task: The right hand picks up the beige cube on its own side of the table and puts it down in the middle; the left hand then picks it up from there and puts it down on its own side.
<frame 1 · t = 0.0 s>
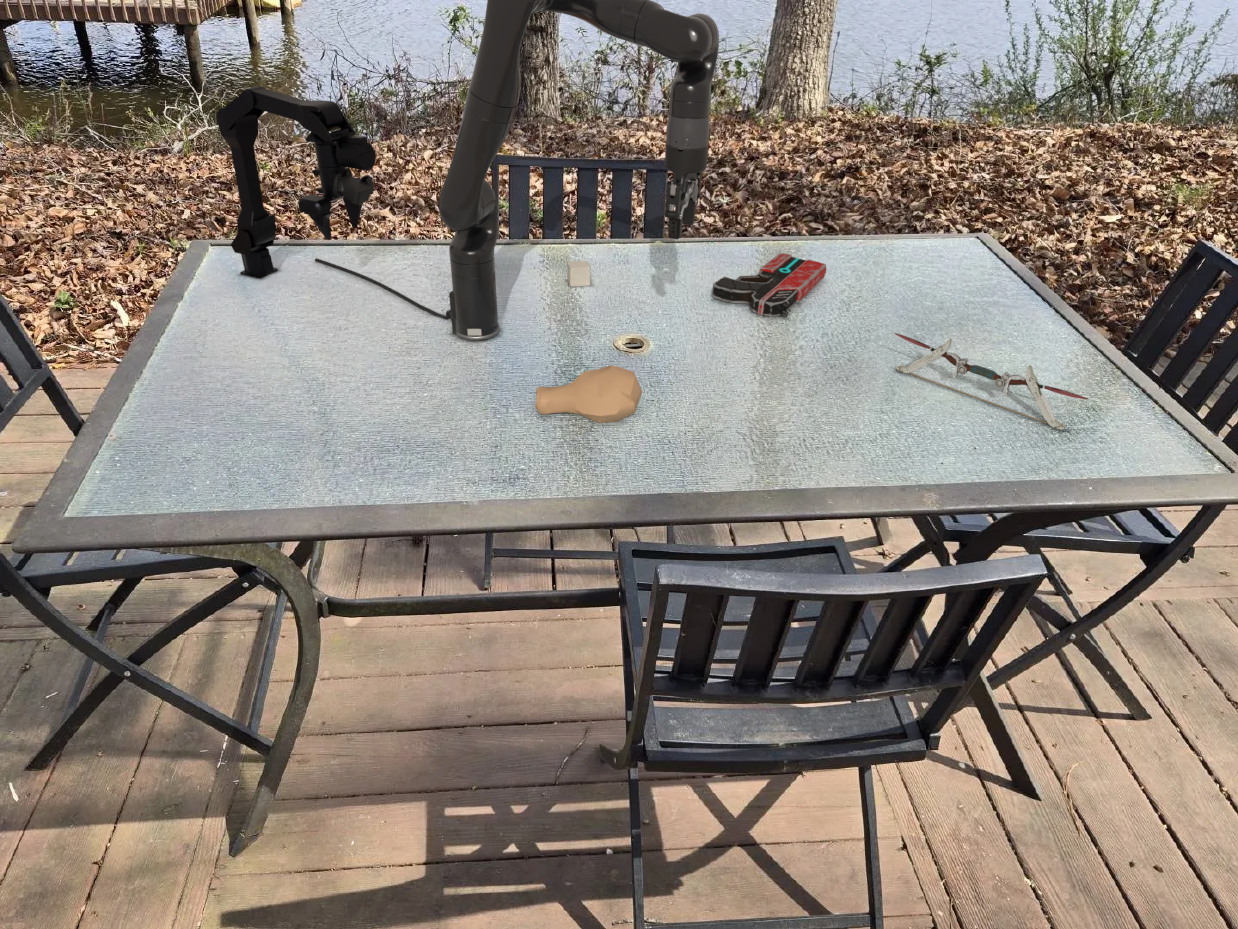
left hand: (342, 233, 200), 15 cm above the table, tool pointing down, fingers open, 9 cm apart
right hand: (681, 231, 164), 29 cm above the table, tool pointing down, fingers open, 8 cm apart
squash: (588, 414, 165), on the table
beige cube: (578, 282, 218), on the table
gun: (770, 291, 216), on the table
bow: (975, 398, 173), on the table
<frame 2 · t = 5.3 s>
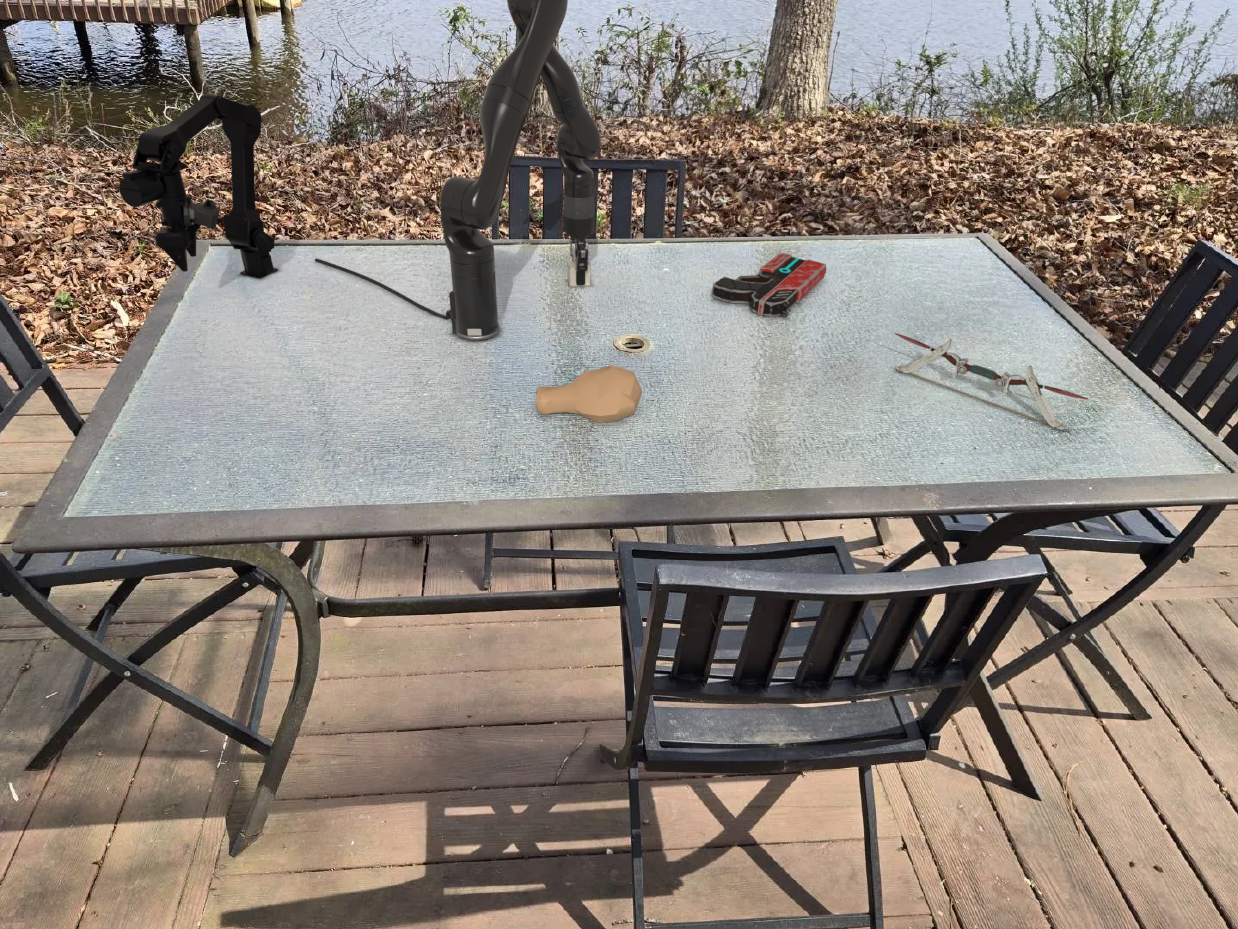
left hand: (189, 263, 197), 9 cm above the table, tool pointing down, fingers open, 9 cm apart
right hand: (578, 280, 218), 1 cm above the table, tool pointing down, fingers closed on beige cube, 4 cm apart
beige cube: (578, 282, 218), on the table, touching right hand
everything else where it was.
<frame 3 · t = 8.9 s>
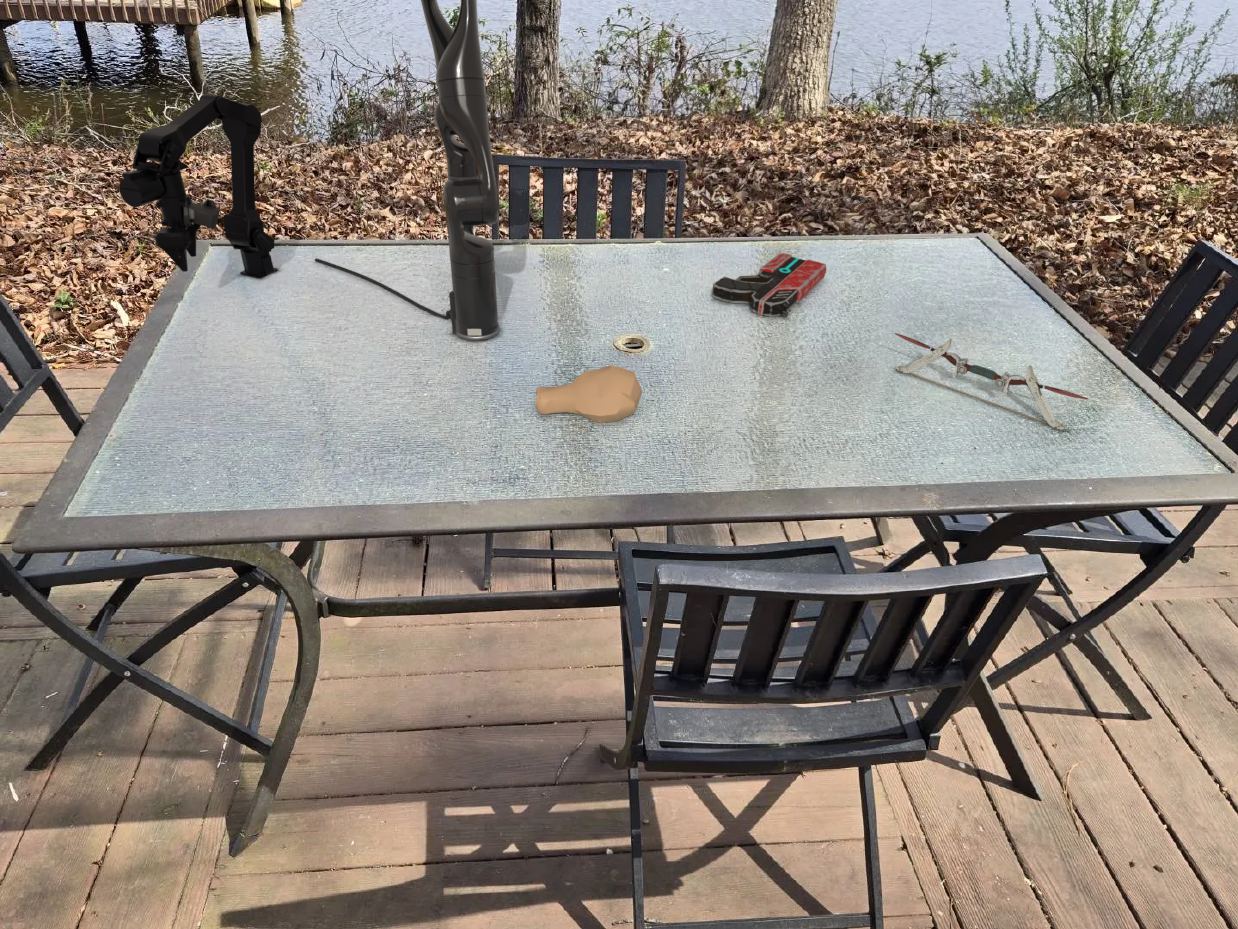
left hand: (189, 263, 197), 9 cm above the table, tool pointing down, fingers open, 9 cm apart
right hand: (470, 264, 210), 6 cm above the table, tool pointing down, fingers closed on beige cube, 4 cm apart
beige cube: (470, 266, 210), point 5 cm above the table, touching right hand
everything else where it was.
when the right hand's fingers open (1 cm above the table, at t = 12.9 s): beige cube stays where it is, on the table.
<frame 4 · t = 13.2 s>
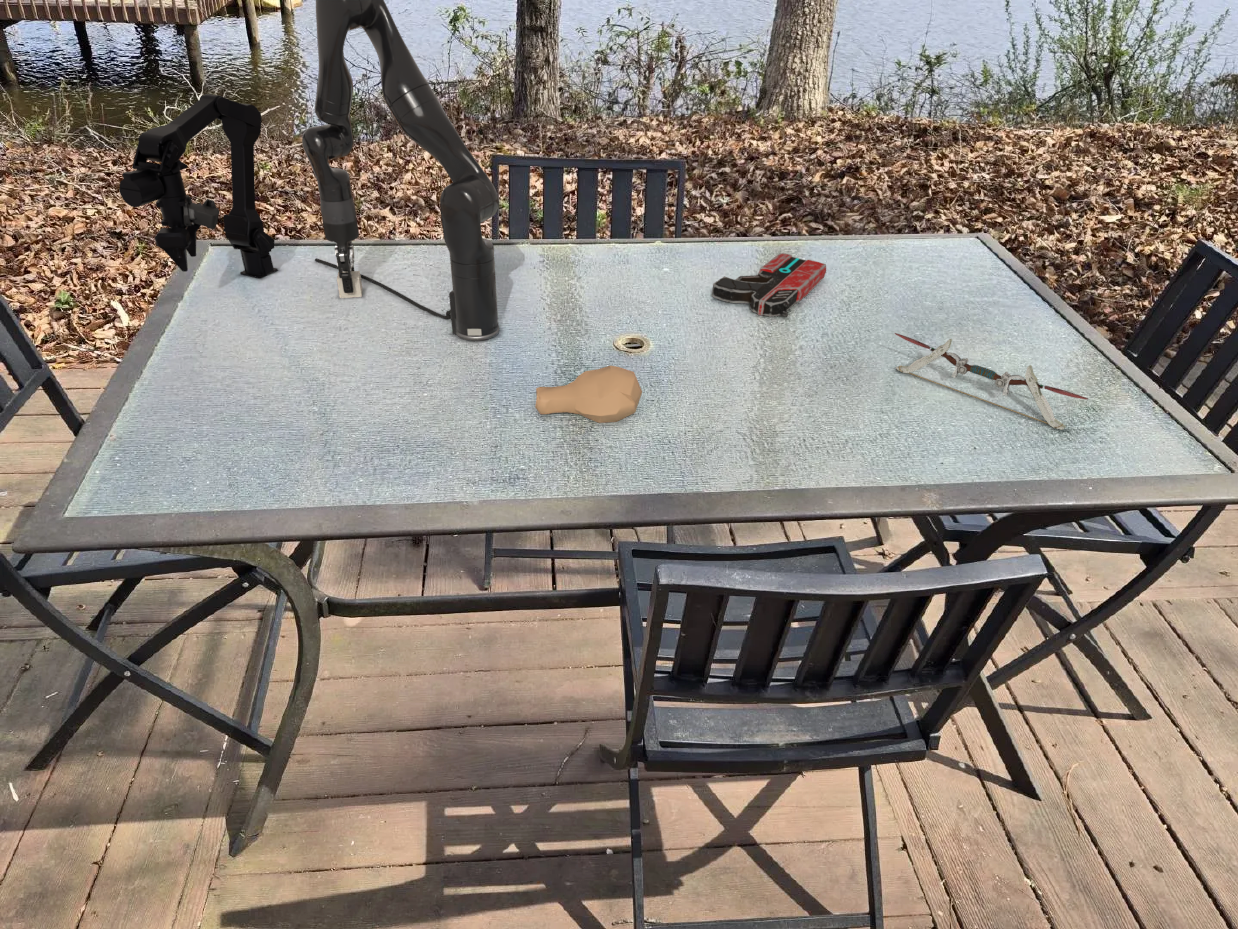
left hand: (189, 263, 197), 9 cm above the table, tool pointing down, fingers open, 9 cm apart
right hand: (349, 285, 208), 2 cm above the table, tool pointing down, fingers open, 7 cm apart
beige cube: (351, 293, 209), on the table
everything else where it was.
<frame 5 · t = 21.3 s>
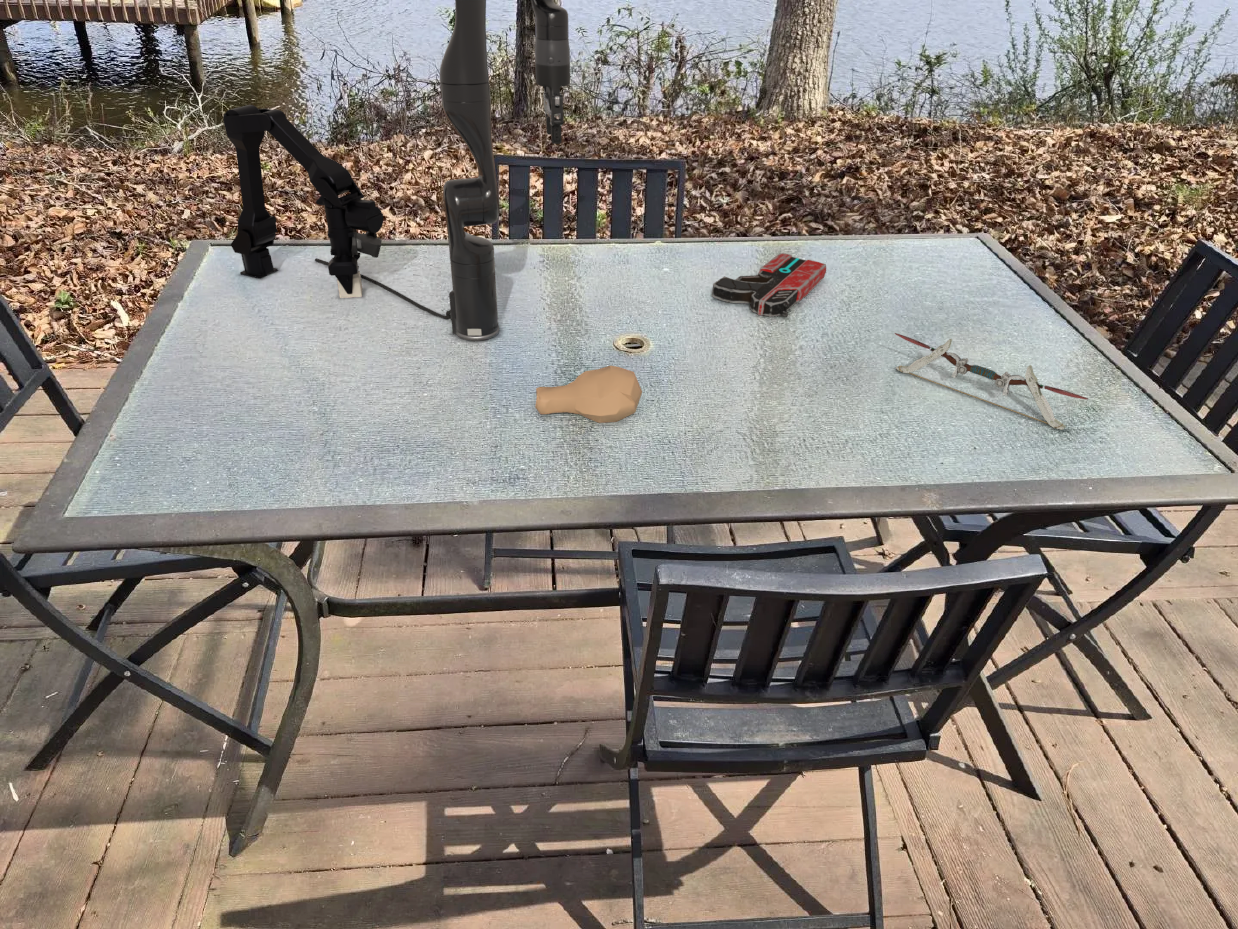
left hand: (350, 289, 208), 1 cm above the table, tool pointing down, fingers closed on beige cube, 4 cm apart
right hand: (553, 138, 199), 34 cm above the table, tool pointing down, fingers open, 8 cm apart
beige cube: (351, 293, 209), on the table, touching left hand
everything else where it was.
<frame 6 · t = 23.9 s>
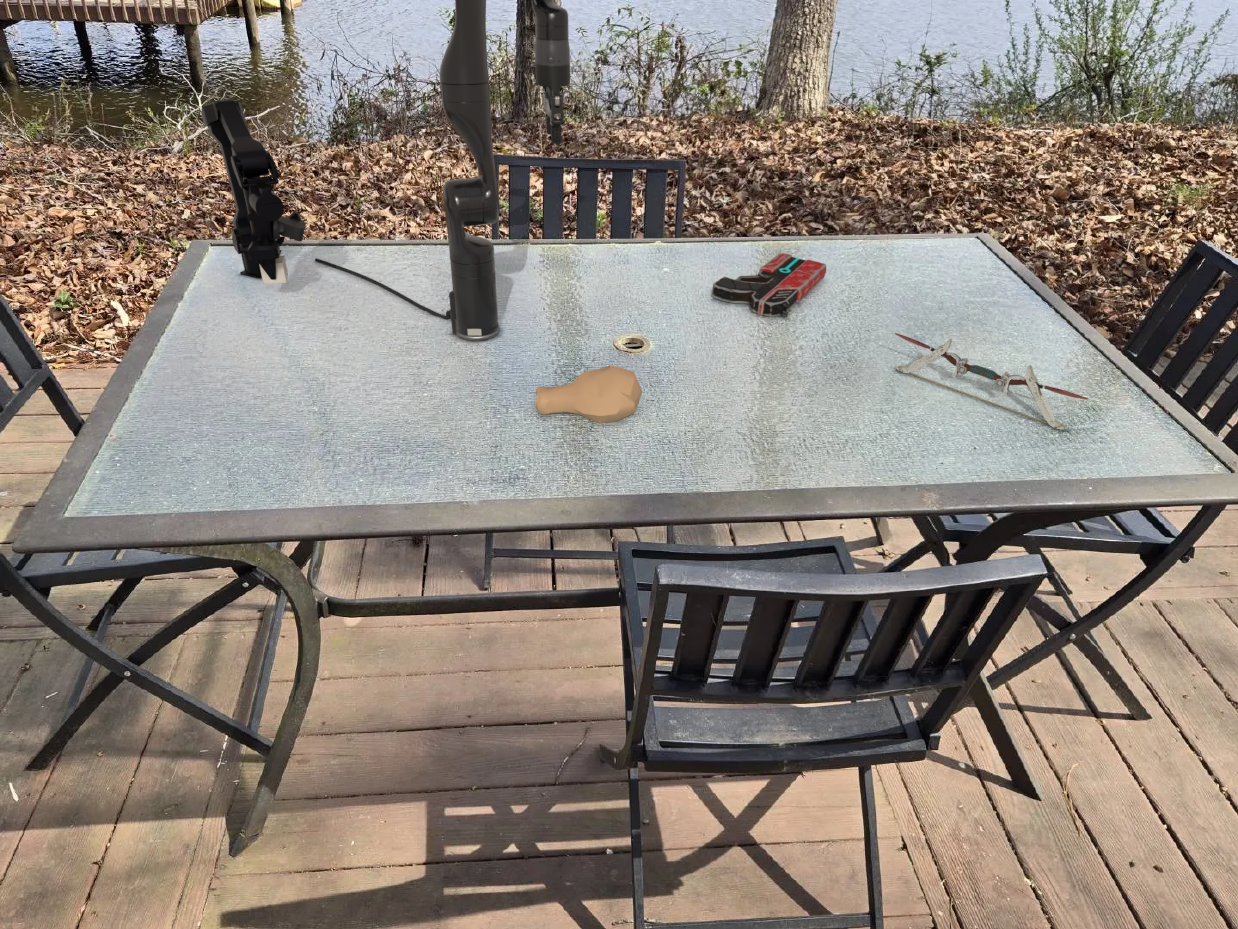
left hand: (274, 275, 200), 6 cm above the table, tool pointing down, fingers closed on beige cube, 4 cm apart
right hand: (553, 138, 199), 34 cm above the table, tool pointing down, fingers open, 8 cm apart
beige cube: (275, 279, 201), point 5 cm above the table, touching left hand
everything else where it was.
when the left hand's fingers open (2 cm above the table, at t = 26.6 s): beige cube stays where it is, on the table.
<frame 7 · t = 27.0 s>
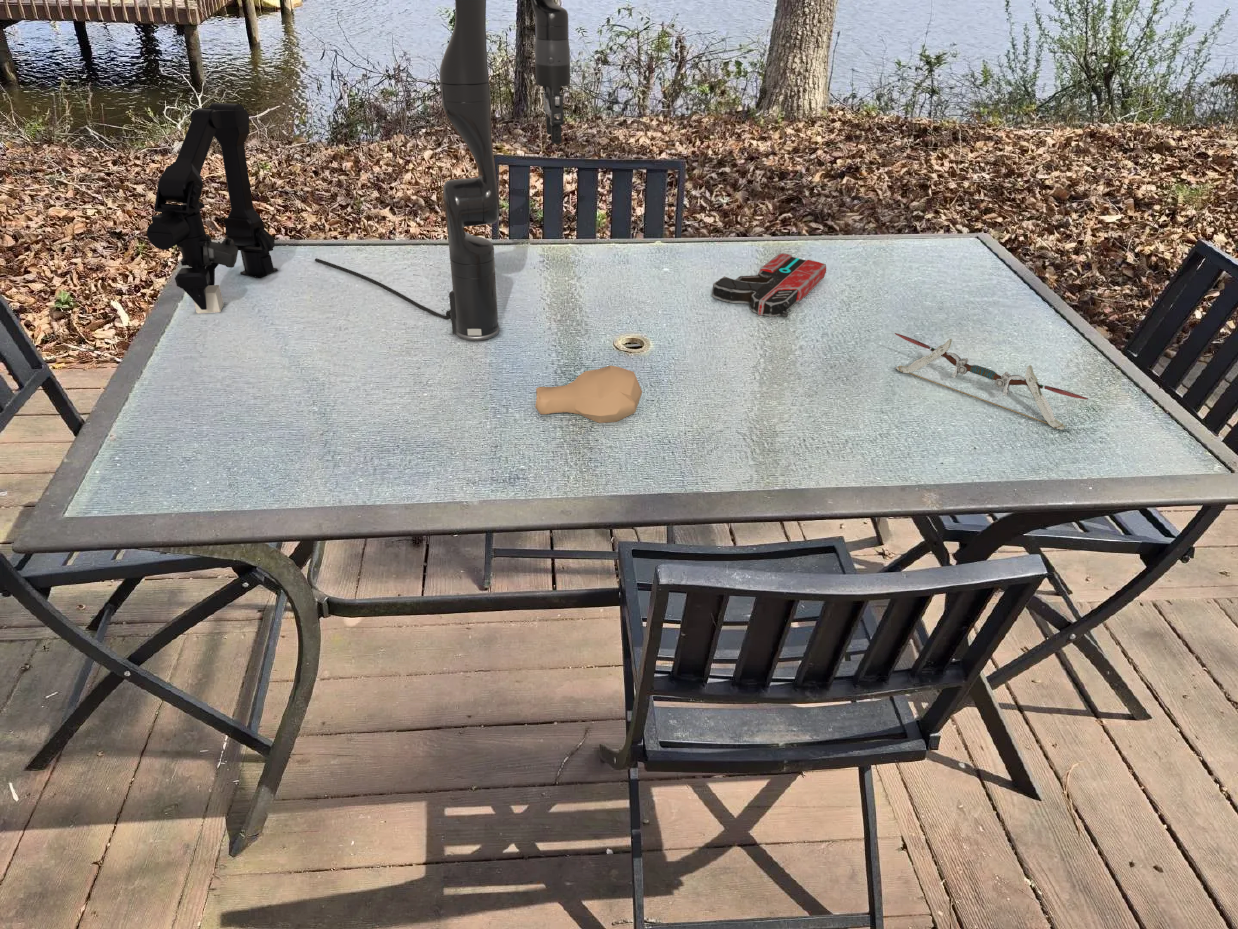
left hand: (208, 301, 198), 2 cm above the table, tool pointing down, fingers open, 9 cm apart
right hand: (553, 138, 199), 34 cm above the table, tool pointing down, fingers open, 8 cm apart
beige cube: (210, 308, 200), on the table
everything else where it was.
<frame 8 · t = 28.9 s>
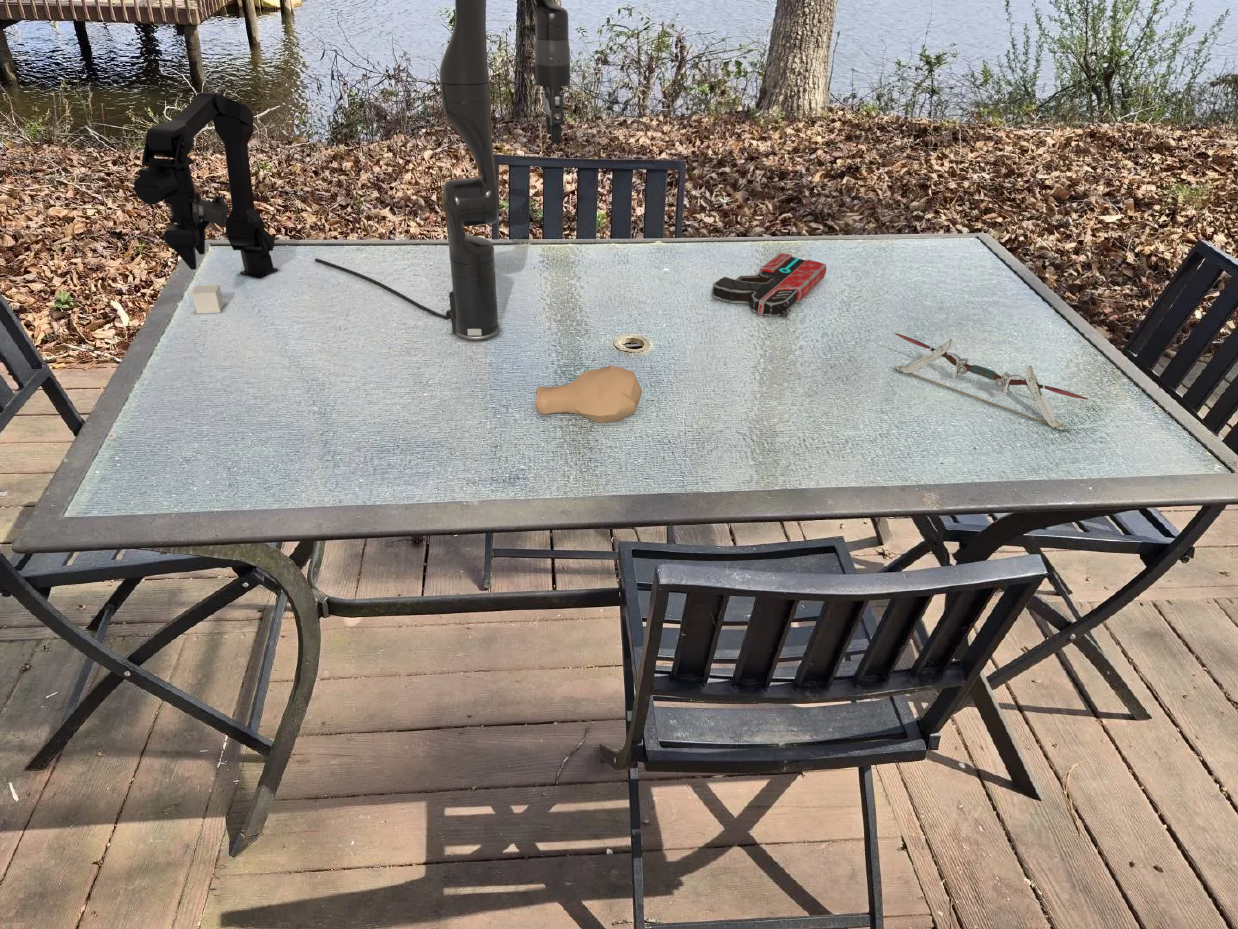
left hand: (198, 261, 193), 11 cm above the table, tool pointing down, fingers open, 9 cm apart
right hand: (553, 138, 199), 34 cm above the table, tool pointing down, fingers open, 8 cm apart
nothing on the table moved.
at the end: beige cube inside the target area (0.1 cm from its centre), on the table; beige cube tilted 0°; the two hands never held the beige cube at the same time; the left hand is holding nothing; the right hand is holding nothing; beige cube at rest at the end (0.0 cm/s) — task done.
